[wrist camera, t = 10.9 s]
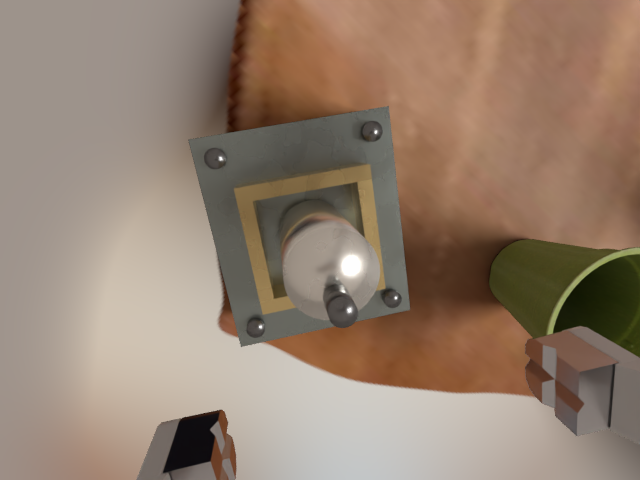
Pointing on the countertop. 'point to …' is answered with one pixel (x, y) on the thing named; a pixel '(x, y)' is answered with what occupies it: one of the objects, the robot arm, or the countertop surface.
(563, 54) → the countertop surface
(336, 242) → the spout can
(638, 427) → the robot arm
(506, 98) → the countertop surface
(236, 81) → the countertop surface
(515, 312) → the plant pot
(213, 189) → the grey square housing block
